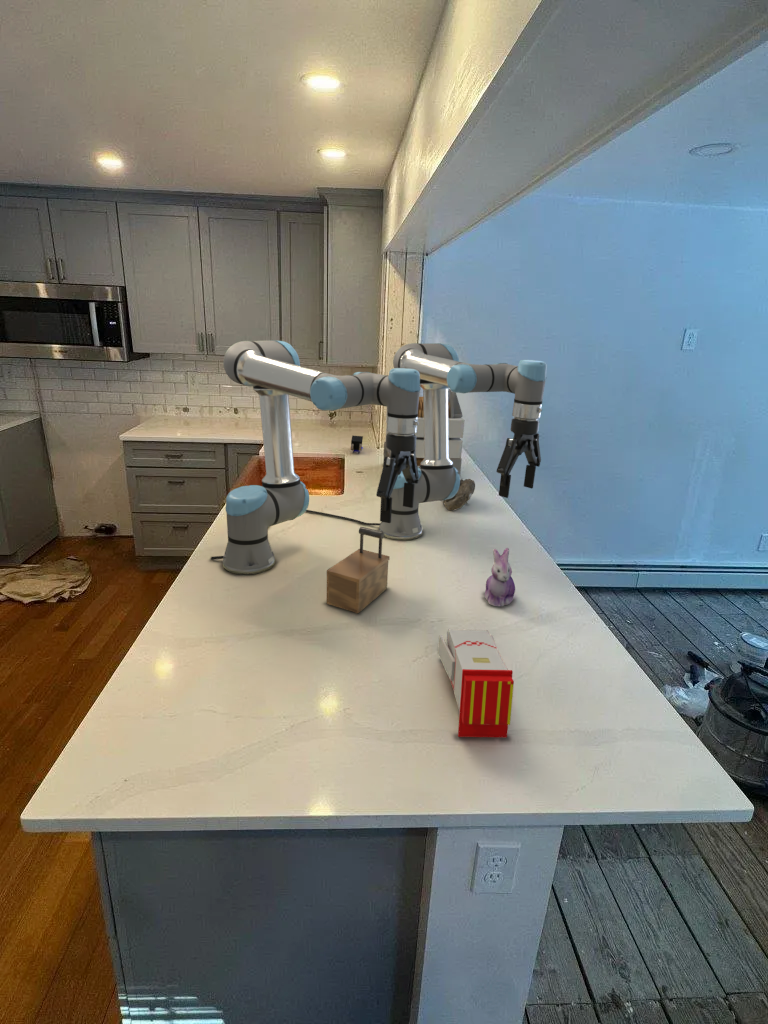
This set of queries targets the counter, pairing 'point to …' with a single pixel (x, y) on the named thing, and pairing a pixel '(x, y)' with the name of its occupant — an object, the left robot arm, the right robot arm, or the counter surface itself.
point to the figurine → (500, 581)
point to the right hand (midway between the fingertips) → (516, 491)
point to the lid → (360, 560)
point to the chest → (356, 590)
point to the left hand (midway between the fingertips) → (397, 514)
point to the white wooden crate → (453, 432)
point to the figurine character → (356, 443)
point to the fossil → (461, 495)
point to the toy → (478, 682)
